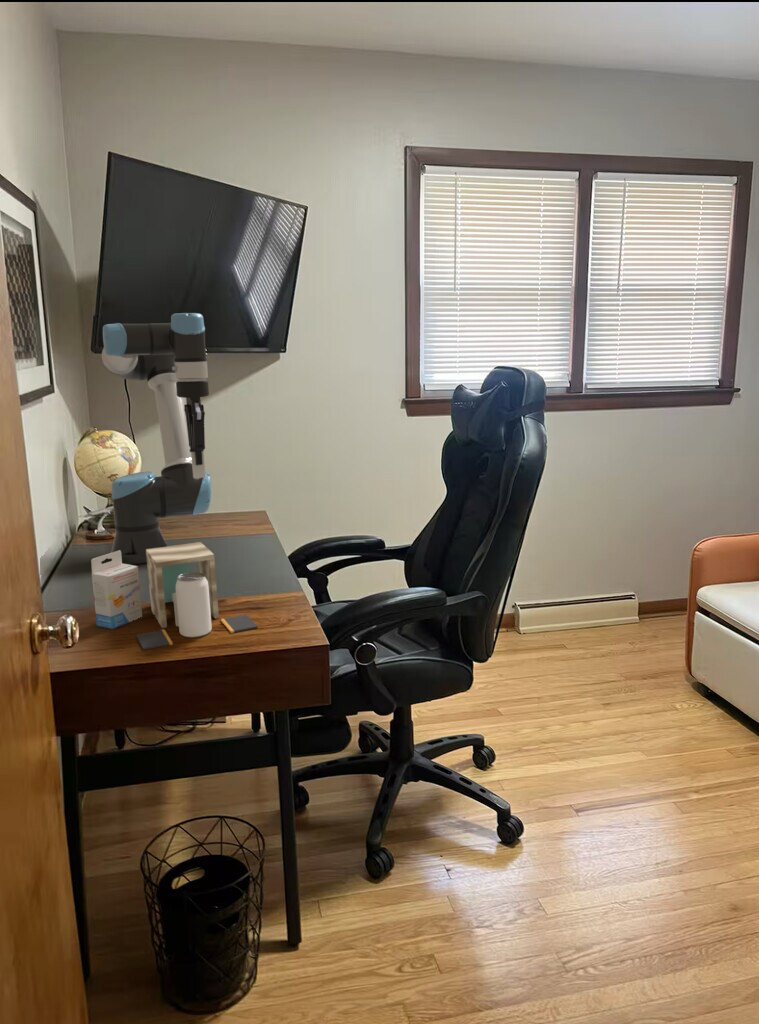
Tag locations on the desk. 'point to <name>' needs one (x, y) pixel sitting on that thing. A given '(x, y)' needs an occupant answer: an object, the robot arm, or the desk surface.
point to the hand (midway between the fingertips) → (199, 477)
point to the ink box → (115, 591)
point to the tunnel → (174, 557)
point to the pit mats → (163, 639)
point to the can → (193, 605)
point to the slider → (173, 583)
